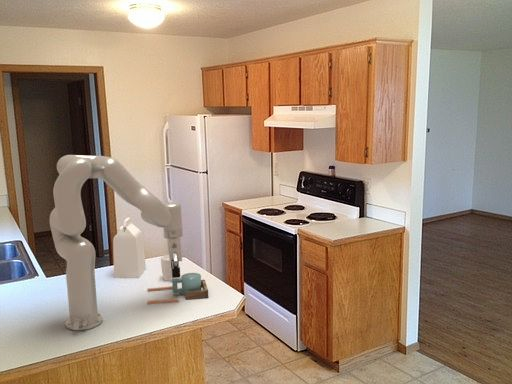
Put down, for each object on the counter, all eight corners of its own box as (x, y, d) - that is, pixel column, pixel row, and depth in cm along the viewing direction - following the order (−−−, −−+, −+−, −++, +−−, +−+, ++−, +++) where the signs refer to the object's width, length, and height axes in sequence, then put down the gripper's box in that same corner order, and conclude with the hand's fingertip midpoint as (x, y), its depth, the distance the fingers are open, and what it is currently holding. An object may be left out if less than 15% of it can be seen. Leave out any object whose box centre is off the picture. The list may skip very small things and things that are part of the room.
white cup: (181, 275, 214) (180, 254, 212) (176, 282, 206) (175, 260, 204) (164, 275, 214) (163, 254, 212) (159, 281, 207) (158, 260, 205)
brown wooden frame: (208, 297, 189) (208, 290, 188) (185, 299, 187) (185, 292, 186) (205, 286, 201) (204, 279, 200) (183, 288, 199) (183, 281, 198)
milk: (139, 278, 211) (136, 222, 206) (114, 278, 211) (110, 222, 206) (145, 268, 223) (143, 216, 218) (122, 268, 223) (118, 216, 218)
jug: (202, 296, 191) (201, 278, 189) (173, 298, 188) (172, 281, 187) (200, 288, 198) (199, 272, 197) (172, 291, 196) (171, 274, 194)
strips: (178, 301, 186) (178, 299, 185) (147, 304, 183) (147, 301, 183) (176, 288, 199) (176, 285, 199) (147, 290, 196) (147, 288, 196)
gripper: (183, 238, 180) (186, 279, 183) (181, 226, 196) (183, 264, 200) (164, 239, 178) (167, 281, 182) (163, 227, 195) (165, 266, 198)
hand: (175, 272), depth 191 cm, fingers open, 9 cm apart
